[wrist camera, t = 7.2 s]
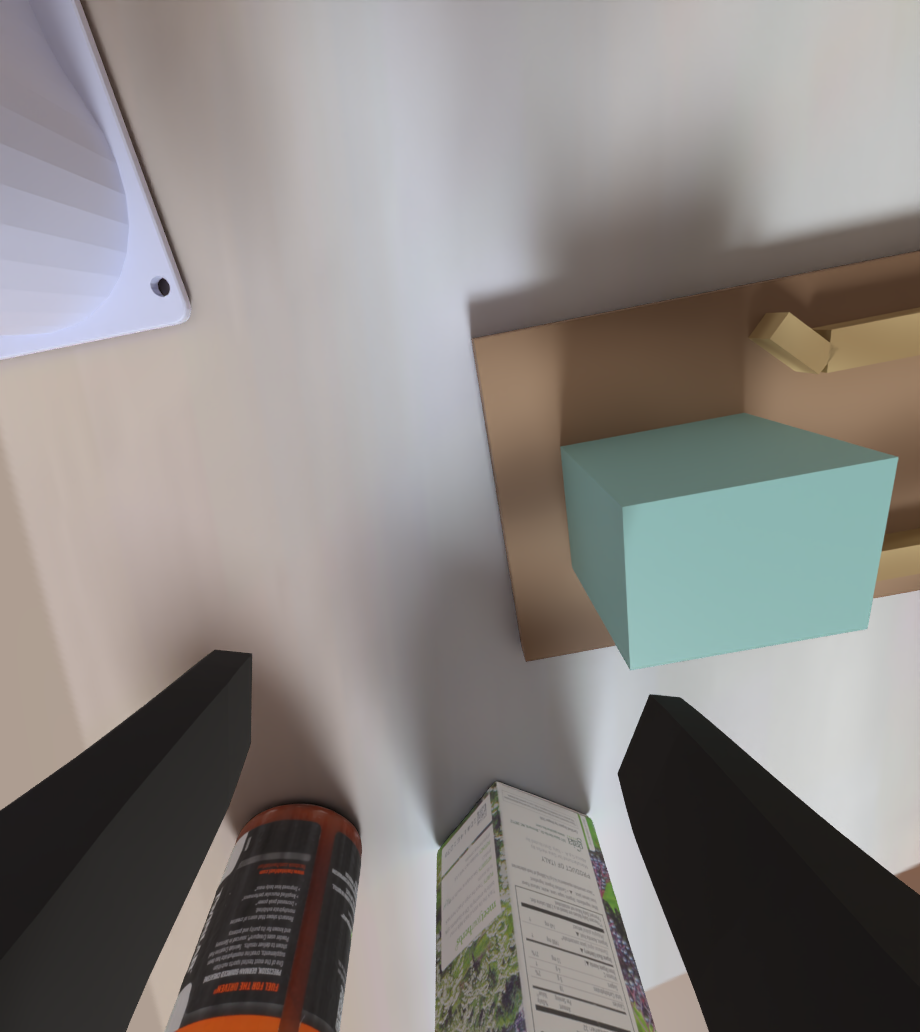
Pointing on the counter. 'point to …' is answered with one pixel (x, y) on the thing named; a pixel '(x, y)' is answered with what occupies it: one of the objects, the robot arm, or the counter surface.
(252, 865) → the supplement bottle
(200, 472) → the counter surface
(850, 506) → the teal block
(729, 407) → the slide board
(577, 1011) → the syrup box
